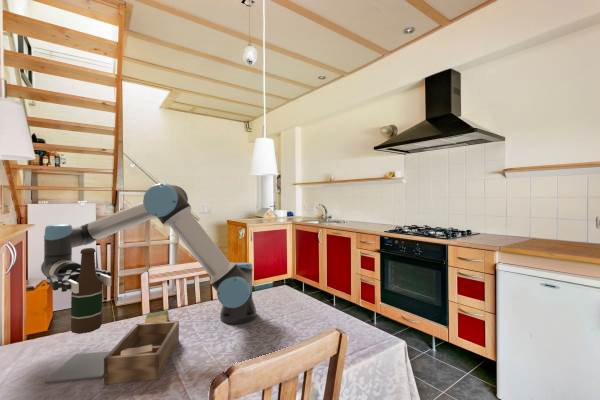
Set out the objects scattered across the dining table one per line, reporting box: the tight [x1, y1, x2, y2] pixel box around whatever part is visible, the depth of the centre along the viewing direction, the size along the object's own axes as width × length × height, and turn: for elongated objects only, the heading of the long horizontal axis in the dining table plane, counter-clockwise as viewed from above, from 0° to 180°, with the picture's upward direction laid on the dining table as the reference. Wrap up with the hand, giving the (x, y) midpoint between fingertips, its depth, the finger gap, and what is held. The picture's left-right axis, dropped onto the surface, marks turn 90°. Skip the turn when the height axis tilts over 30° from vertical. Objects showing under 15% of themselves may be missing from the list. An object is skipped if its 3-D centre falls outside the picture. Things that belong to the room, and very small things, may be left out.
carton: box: [144, 310, 170, 323], centre depth 111 cm, size 8×16×4 cm, turn 24°
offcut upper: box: [120, 344, 153, 356], centre depth 83 cm, size 8×4×3 cm, turn 119°
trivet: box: [44, 350, 112, 384], centre depth 86 cm, size 14×14×1 cm
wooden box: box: [103, 320, 180, 385], centre depth 89 cm, size 14×22×7 cm, turn 10°
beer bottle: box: [70, 247, 104, 335], centre depth 86 cm, size 8×8×24 cm
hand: (94, 284), depth 83 cm, fingers closed on beer bottle, 7 cm apart
